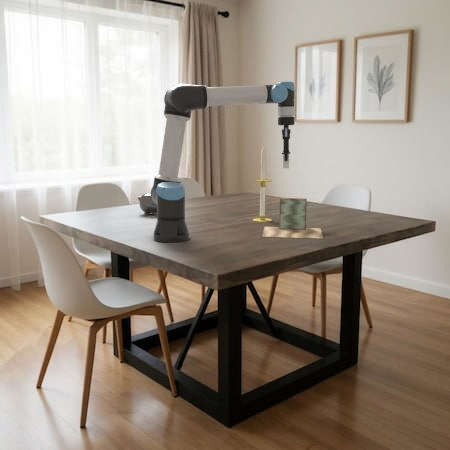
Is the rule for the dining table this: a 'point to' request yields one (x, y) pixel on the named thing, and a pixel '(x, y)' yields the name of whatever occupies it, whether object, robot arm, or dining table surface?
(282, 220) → the panel
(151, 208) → the piggy bank
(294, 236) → the light wooden board
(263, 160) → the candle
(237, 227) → the dining table surface
